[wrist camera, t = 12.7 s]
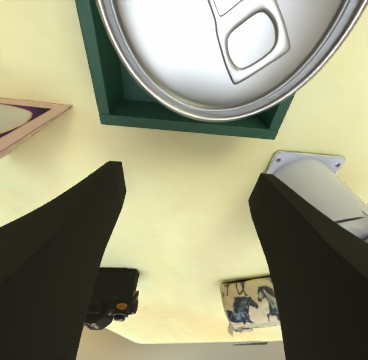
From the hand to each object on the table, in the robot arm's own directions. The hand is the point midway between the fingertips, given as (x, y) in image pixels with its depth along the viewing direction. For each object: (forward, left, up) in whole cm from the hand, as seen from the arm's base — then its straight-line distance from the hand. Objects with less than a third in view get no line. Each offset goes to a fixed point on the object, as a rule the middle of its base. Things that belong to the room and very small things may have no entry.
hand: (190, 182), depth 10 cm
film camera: (-39, +14, -11) cm, 43 cm away
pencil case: (-36, -22, -11) cm, 44 cm away
